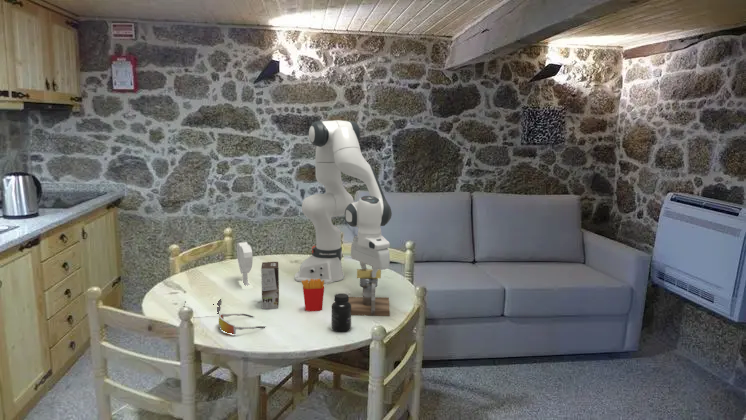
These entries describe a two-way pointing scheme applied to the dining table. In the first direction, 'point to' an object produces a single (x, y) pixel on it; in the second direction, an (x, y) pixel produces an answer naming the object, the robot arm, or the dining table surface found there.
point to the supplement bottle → (341, 313)
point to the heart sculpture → (244, 260)
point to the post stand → (369, 304)
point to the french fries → (313, 294)
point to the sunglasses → (232, 328)
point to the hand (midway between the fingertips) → (368, 275)
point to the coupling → (367, 278)
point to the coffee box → (270, 285)
